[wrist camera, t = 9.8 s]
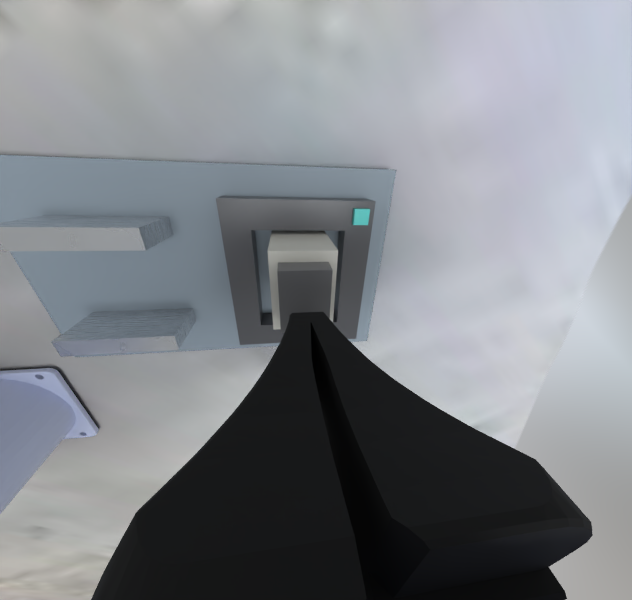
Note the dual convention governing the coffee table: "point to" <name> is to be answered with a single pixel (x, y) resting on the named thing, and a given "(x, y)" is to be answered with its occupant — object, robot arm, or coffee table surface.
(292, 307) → the plug
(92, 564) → the coffee table surface
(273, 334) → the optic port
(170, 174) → the panel board
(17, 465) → the robot arm
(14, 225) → the plate with twin rails
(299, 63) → the coffee table surface
